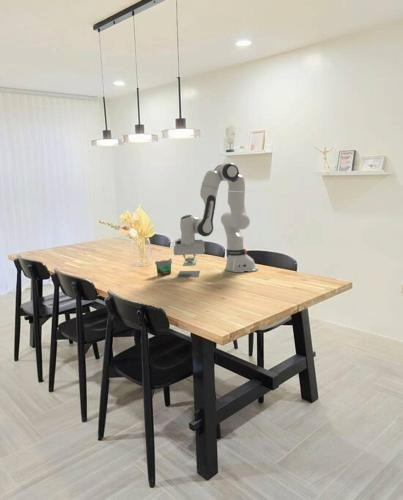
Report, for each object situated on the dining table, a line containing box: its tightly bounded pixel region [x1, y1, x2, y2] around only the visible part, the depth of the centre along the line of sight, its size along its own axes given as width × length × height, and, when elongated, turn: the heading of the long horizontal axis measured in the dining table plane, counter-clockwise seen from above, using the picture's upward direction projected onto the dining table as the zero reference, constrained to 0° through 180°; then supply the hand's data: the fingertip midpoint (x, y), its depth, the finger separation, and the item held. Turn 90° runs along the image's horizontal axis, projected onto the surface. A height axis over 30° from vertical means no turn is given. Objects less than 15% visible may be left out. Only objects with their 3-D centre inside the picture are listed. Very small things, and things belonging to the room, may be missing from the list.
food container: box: [155, 258, 173, 277], centre depth 261 cm, size 12×6×10 cm, turn 129°
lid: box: [182, 256, 198, 267], centre depth 260 cm, size 8×13×4 cm, turn 176°
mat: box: [176, 270, 201, 279], centre depth 261 cm, size 14×17×1 cm
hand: (189, 260), depth 260 cm, fingers closed on lid, 3 cm apart
